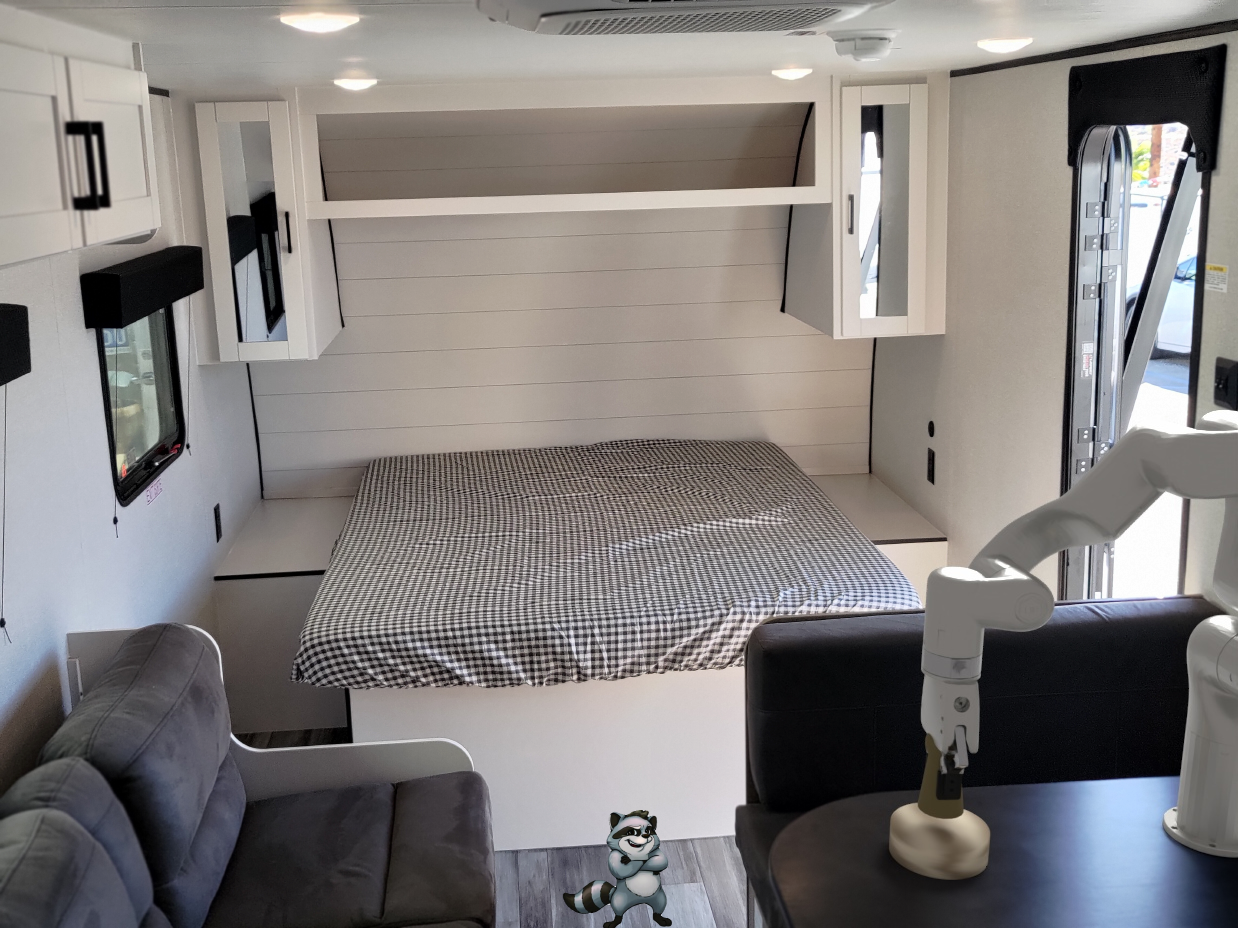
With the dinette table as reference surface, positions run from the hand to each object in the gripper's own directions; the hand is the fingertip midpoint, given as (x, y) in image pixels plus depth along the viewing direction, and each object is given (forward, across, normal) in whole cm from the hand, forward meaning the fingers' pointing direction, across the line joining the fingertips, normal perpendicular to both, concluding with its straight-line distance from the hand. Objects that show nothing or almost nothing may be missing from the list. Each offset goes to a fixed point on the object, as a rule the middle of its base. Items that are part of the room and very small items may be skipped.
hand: (942, 788), depth 155 cm
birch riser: (+9, 0, 0) cm, 9 cm away
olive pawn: (+3, 0, 0) cm, 3 cm away
